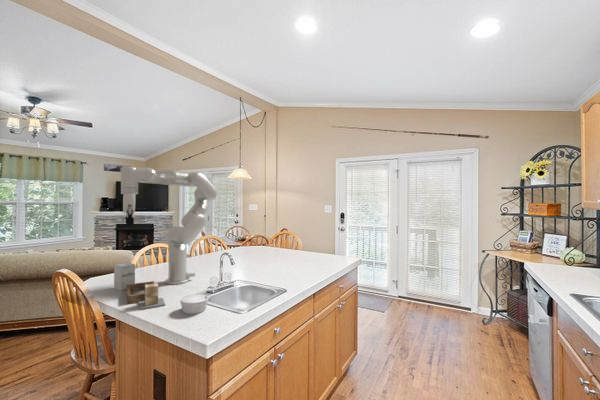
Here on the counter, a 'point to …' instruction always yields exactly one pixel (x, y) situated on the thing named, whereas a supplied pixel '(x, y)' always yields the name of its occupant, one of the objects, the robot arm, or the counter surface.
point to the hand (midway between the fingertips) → (129, 225)
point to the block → (151, 294)
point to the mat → (143, 306)
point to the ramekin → (194, 303)
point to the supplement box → (124, 275)
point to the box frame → (136, 287)
